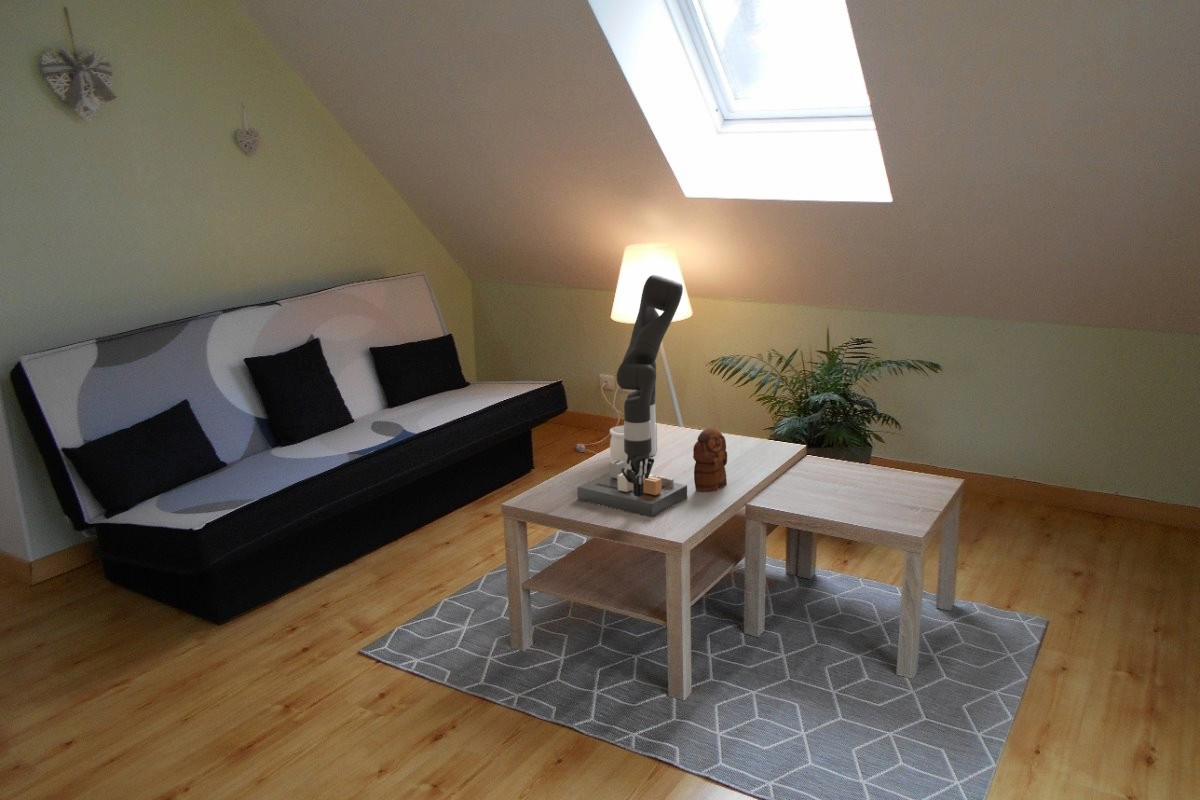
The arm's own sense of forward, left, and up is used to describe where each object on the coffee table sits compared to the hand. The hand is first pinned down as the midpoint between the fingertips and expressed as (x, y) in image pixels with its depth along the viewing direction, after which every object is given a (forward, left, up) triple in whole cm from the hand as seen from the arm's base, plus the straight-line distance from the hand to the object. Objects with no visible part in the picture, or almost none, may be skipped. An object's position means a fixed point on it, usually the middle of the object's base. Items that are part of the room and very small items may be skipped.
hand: (638, 495), depth 278 cm
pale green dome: (-13, -5, -1) cm, 14 cm away
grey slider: (-12, -16, -1) cm, 20 cm away
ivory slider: (-4, -7, -1) cm, 8 cm away
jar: (-24, -21, -5) cm, 32 cm away
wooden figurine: (-29, +6, -5) cm, 30 cm away
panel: (-8, -8, -5) cm, 12 cm away
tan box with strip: (-6, 0, -1) cm, 6 cm away
